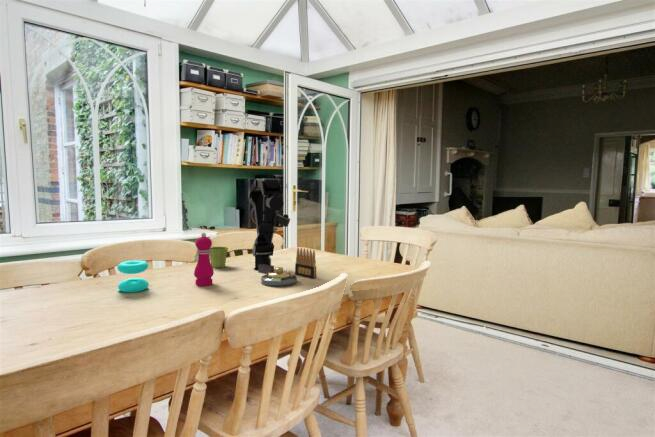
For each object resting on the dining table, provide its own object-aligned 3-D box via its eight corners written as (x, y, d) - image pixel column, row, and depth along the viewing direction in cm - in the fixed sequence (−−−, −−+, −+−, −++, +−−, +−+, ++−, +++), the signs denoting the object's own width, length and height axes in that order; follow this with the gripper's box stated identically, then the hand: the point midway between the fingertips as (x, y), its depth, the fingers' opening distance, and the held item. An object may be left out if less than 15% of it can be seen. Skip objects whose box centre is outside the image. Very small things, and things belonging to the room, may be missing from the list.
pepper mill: (208, 287, 153) (207, 234, 151) (190, 285, 155) (189, 233, 153) (217, 282, 160) (216, 232, 158) (200, 281, 162) (199, 231, 160)
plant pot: (203, 267, 186) (203, 249, 185) (214, 263, 194) (214, 245, 194) (221, 269, 183) (221, 250, 182) (232, 265, 192) (232, 247, 191)
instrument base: (257, 286, 156) (257, 278, 156) (265, 277, 170) (265, 270, 170) (293, 287, 155) (294, 279, 155) (298, 278, 169) (299, 271, 169)
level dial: (251, 274, 165) (252, 265, 164) (267, 270, 172) (267, 262, 172) (280, 280, 156) (280, 271, 156) (295, 276, 164) (295, 267, 163)
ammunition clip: (316, 278, 171) (317, 250, 170) (313, 279, 169) (314, 250, 168) (297, 274, 177) (298, 246, 176) (294, 274, 176) (295, 247, 175)
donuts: (139, 258, 154) (153, 262, 148) (139, 284, 155) (154, 289, 149) (112, 262, 146) (126, 266, 140) (112, 289, 147) (126, 295, 141)
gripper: (286, 211, 162) (285, 249, 164) (291, 207, 181) (291, 242, 182) (258, 210, 162) (257, 249, 164) (266, 206, 181) (266, 241, 183)
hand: (269, 245), depth 173 cm, fingers closed
